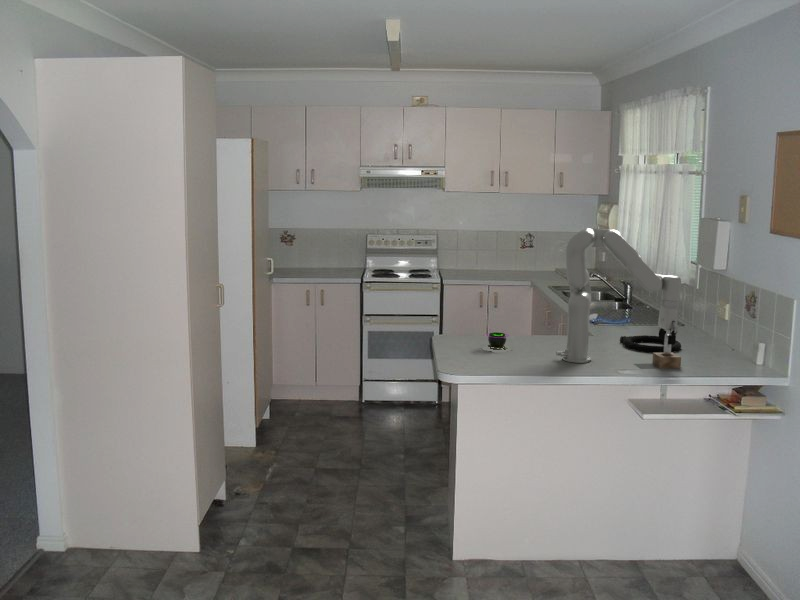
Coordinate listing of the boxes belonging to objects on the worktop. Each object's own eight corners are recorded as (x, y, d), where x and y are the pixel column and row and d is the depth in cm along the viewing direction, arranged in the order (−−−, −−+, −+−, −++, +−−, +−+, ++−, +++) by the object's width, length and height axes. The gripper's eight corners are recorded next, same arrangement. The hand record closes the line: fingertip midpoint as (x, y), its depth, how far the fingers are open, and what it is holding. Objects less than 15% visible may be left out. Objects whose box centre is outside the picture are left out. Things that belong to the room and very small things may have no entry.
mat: (640, 369, 343) (640, 368, 343) (632, 364, 352) (633, 363, 352) (682, 369, 345) (682, 368, 345) (673, 364, 354) (673, 363, 354)
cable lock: (669, 349, 369) (609, 340, 388) (668, 357, 369) (608, 347, 388) (689, 339, 390) (632, 331, 409) (689, 347, 390) (631, 338, 409)
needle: (664, 366, 347) (666, 335, 345) (661, 364, 350) (663, 334, 348) (671, 366, 348) (673, 335, 345) (668, 364, 351) (670, 334, 348)
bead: (660, 368, 344) (661, 357, 343) (652, 363, 353) (653, 352, 352) (680, 368, 345) (681, 357, 344) (671, 363, 354) (672, 352, 353)
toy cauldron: (518, 351, 378) (519, 328, 377) (492, 354, 372) (493, 331, 370) (501, 344, 392) (501, 323, 390) (475, 347, 385) (476, 325, 383)
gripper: (653, 300, 353) (650, 337, 356) (670, 307, 336) (666, 346, 339) (669, 300, 353) (666, 337, 356) (687, 307, 336) (683, 346, 339)
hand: (666, 341), depth 347 cm, fingers open, 9 cm apart
